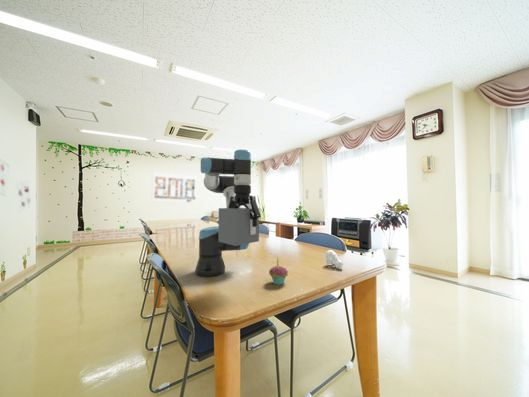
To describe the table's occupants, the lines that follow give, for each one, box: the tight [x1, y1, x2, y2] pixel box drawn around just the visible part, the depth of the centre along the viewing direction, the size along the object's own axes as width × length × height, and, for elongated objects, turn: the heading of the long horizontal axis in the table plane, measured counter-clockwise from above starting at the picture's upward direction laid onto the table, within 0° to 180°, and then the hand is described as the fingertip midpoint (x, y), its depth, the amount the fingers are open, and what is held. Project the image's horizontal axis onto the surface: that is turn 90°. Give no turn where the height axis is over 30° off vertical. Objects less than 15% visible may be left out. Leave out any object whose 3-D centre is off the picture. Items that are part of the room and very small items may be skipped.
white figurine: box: [324, 249, 344, 270], centre depth 115 cm, size 6×8×12 cm
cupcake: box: [268, 257, 289, 286], centre depth 92 cm, size 9×8×12 cm
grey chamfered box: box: [218, 207, 260, 246], centre depth 90 cm, size 12×13×15 cm
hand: (242, 232), depth 91 cm, fingers closed on grey chamfered box, 12 cm apart
